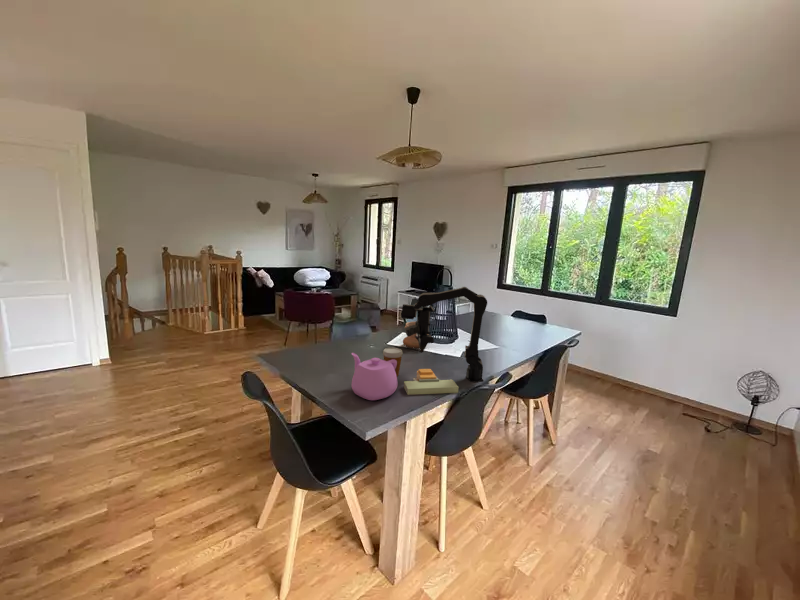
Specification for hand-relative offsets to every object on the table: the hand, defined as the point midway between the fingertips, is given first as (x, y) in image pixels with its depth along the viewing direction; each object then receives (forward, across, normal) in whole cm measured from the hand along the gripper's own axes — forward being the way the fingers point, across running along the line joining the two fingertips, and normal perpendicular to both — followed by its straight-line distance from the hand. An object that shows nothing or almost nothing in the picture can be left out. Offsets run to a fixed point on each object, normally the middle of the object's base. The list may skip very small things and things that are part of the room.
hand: (421, 352), depth 170 cm
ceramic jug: (+11, -42, +7) cm, 44 cm away
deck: (+11, +15, 0) cm, 19 cm away
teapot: (+11, +19, -25) cm, 33 cm away
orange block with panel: (+11, +10, 0) cm, 15 cm away
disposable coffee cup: (+11, 0, -14) cm, 18 cm away
